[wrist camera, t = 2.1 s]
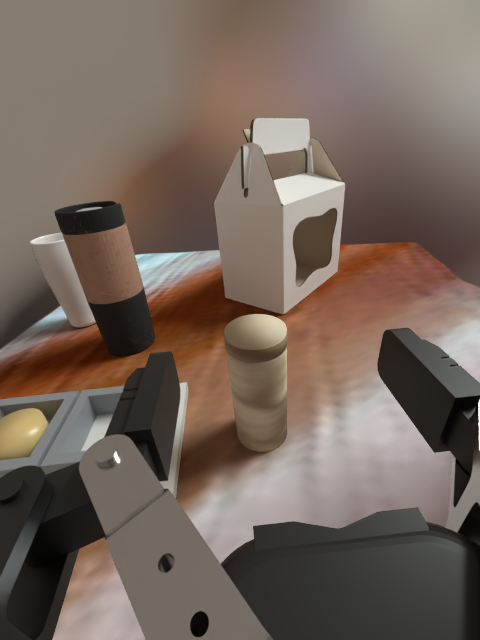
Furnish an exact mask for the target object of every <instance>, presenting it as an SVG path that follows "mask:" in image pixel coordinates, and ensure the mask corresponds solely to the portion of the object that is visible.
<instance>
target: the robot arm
mask: <svg viewBox="0 0 480 640" xmlns="http://www.w3.org/2000/svg"><path fill="white" fill-rule="evenodd" d="M378 372H379V375H380V377H381V379H382V380H383V382H384V383H385V385H386V386H387V387H388V389H389V390H390V392H391V393H392V394H393V396H394V397H395V399H396V400H397V401H398V403H399V404H400V405H401V407H402V408H403V410H404V411H405V412H406V414H407V415H408V417H409V418H410V419H411V421H412V422H413V424H414V425H415V426H416V428H417V429H418V431H419V432H420V433H421V435H422V436H423V437H424V439H425V440H426V442H427V443H428V444H429V446H430V447H431V449H432V450H433V451H434V452H443V451H451V453H452V454H453V455H454V458H453V460H452V463H451V477H450V493H449V510H448V518H447V523H446V526H445V527H443V526H440V525H436V524H433V523H429V522H426V521H425V520H424V518H423V516H422V514H421V513H420V511H419V509H418V507H417V508H408V509H400V510H391V511H382V512H377V513H374V514H372V515H370V516H368V517H366V518H363V519H361V520H359V521H357V522H355V523H353V524H350V525H348V526H346V527H344V528H340V529H335V528H329V527H323V526H317V525H311V524H305V523H300V522H285V523H277V524H268V525H259V526H253V530H254V539H253V540H251V541H249V542H247V543H245V544H243V545H242V546H240V547H239V548H237V549H236V550H235V551H234V552H232V553H231V554H230V555H229V556H228V557H227V558H226V559H225V560H224V561H223V562H222V563H221V564H220V563H219V561H218V560H217V558H216V557H215V556H214V554H213V553H212V551H211V550H210V548H209V547H208V545H207V544H206V542H205V541H204V539H203V538H202V536H201V535H200V533H199V532H198V531H197V529H196V528H195V526H194V525H193V523H192V522H191V520H190V519H189V517H188V516H187V514H186V513H185V511H184V510H183V509H182V507H181V506H180V504H179V503H178V501H177V500H176V498H175V497H174V495H173V494H172V493H171V492H170V490H169V489H167V488H166V489H164V488H163V486H162V485H161V483H160V481H168V477H169V471H170V464H171V457H172V451H173V444H174V437H175V431H176V424H177V417H178V411H179V404H180V383H179V379H178V374H177V370H176V366H175V362H174V358H173V354H172V352H171V351H170V352H160V353H151V354H150V355H149V358H148V361H147V364H146V367H145V368H137V369H136V370H135V371H134V372H133V373H132V374H131V375H130V376H129V377H128V378H127V381H126V383H125V386H124V388H123V392H122V394H121V396H120V401H118V404H117V406H116V409H115V411H114V414H113V416H112V419H111V421H110V424H109V426H108V429H107V431H106V434H105V436H104V438H102V439H100V440H98V441H97V442H95V443H94V444H93V445H92V446H90V447H89V448H88V450H87V451H86V452H85V453H84V455H83V456H82V458H81V461H79V462H77V463H75V464H72V465H70V466H67V467H65V468H62V469H59V470H57V471H54V472H51V473H49V474H46V475H45V473H44V472H43V470H42V469H41V468H40V467H38V466H32V465H30V466H23V467H20V468H17V469H15V470H12V471H10V472H9V473H7V474H5V475H4V476H2V477H1V478H0V640H52V639H53V635H54V632H55V629H56V625H57V622H58V618H59V615H60V612H61V608H62V605H63V602H64V598H65V595H66V591H67V588H68V585H69V581H70V578H71V575H72V571H73V568H74V565H75V561H76V558H77V554H78V551H79V549H80V548H82V547H84V546H86V545H88V544H90V543H93V542H95V541H97V540H99V539H101V538H103V537H105V540H106V543H107V546H108V549H109V551H110V554H111V556H112V558H113V561H114V563H115V566H116V568H117V571H118V573H119V575H120V578H121V580H122V583H123V585H124V588H125V590H126V592H127V595H128V597H129V600H130V602H131V605H132V607H133V610H134V612H135V614H136V617H137V619H138V622H139V624H140V627H141V629H142V631H143V634H144V636H145V639H146V640H480V383H479V382H478V381H477V380H476V379H474V378H473V377H472V376H471V375H470V374H469V373H468V372H467V371H465V370H464V369H463V368H462V367H461V366H458V363H456V362H455V361H454V360H453V359H452V358H449V356H448V355H447V354H446V353H445V352H444V351H443V350H442V349H441V348H439V347H438V346H436V345H434V344H432V343H430V342H428V341H426V340H422V339H420V338H419V337H418V336H417V335H416V334H415V333H414V332H413V331H412V330H411V329H409V328H400V329H390V330H386V331H385V332H384V334H383V338H382V343H381V348H380V353H379V358H378Z"/></svg>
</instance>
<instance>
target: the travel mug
mask: <svg viewBox="0 0 480 640" xmlns="http://www.w3.org/2000/svg"><path fill="white" fill-rule="evenodd" d="M55 216H56V219H57V221H58V224H59V227H60V230H61V232H62V235H63V238H64V240H65V243H66V246H67V248H68V251H69V254H70V257H71V259H72V262H73V265H74V267H75V270H76V273H77V275H78V278H79V281H80V284H81V286H82V289H83V292H84V294H85V297H86V300H87V302H88V305H89V307H90V309H91V312H92V314H93V316H94V319H95V321H96V323H97V326H98V328H99V330H100V333H101V335H102V338H103V340H104V342H105V344H106V347H107V349H108V351H109V352H110V353H111V354H113V355H116V356H128V355H133V354H136V353H139V352H141V351H143V350H145V349H147V348H148V347H149V346H150V345H151V344H152V343H153V342H154V339H155V335H154V330H153V325H152V321H151V317H150V312H149V308H148V304H147V299H146V295H145V291H144V287H143V283H142V279H141V276H140V272H139V269H138V265H137V261H136V258H135V254H134V251H133V247H132V244H131V240H130V236H129V233H128V230H127V226H126V223H125V218H124V215H123V212H122V207H121V204H120V203H118V204H117V203H116V202H113V201H104V202H93V203H85V204H79V205H73V206H68V207H64V208H61V209H58V210H56V211H55Z"/></svg>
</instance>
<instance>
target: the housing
mask: <svg viewBox="0 0 480 640" xmlns="http://www.w3.org/2000/svg"><path fill="white" fill-rule="evenodd" d="M123 388H124V386H118V387H109V388H100V389H91V390H82V392H81V394H80V393H79V391H73V392H63V393H54V394H45V395H36V396H27V397H18V398H9V399H0V478H1V477H2V476H4V475H5V474H7V473H9V472H10V471H12V470H15V469H17V468H20V467H23V466H30V465H32V466H38V467H40V468H41V469H42V470H43V472H44V473H45V475H46V474H49V473H51V472H54V471H57V470H59V469H62V468H65V467H67V466H70V465H72V464H75V463H77V462H79V461H81V458H82V456H83V455H84V453H85V452H86V451H87V450H88V448H89V447H90V446H92V445H93V444H94V443H95V442H97V441H98V440H100V439H102V438H104V436H105V434H106V431H107V429H108V426H109V424H110V421H111V419H112V416H113V414H114V411H115V409H116V406H117V404H118V401H120V396H121V394H122V392H123ZM187 398H188V386H187V382H185V383H180V404H179V411H178V417H177V424H176V431H175V437H174V444H173V451H172V457H171V464H170V471H169V477H168V481H160V483H161V485H162V486H163V488H164V489H166V488H167V489H169V490H170V492H171V493H172V494H173V495H174V497H175V498H176V494H177V485H178V476H179V468H180V459H181V450H182V442H183V433H184V424H185V416H186V407H187Z"/></svg>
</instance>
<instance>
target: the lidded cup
mask: <svg viewBox="0 0 480 640" xmlns="http://www.w3.org/2000/svg"><path fill="white" fill-rule="evenodd" d="M224 338H225V345H226V351H227V359H228V367H229V374H230V382H231V390H232V397H233V405H234V413H235V421H236V428H237V435H238V439H239V440H240V442H241V443H242V444H243V445H244V446H245V447H246V448H248V449H250V450H252V451H256V452H268V451H272V450H274V449H276V448H278V447H279V446H280V445H281V444H282V443H283V442H284V440H285V438H286V435H287V328H286V325H285V323H284V322H283V321H282V320H280V319H278V318H276V317H274V316H270V315H265V314H251V315H245V316H241V317H239V318H236V319H234V320H232V321H231V322H230V323H229V324H228V325H227V326H226V327H225V330H224Z"/></svg>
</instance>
